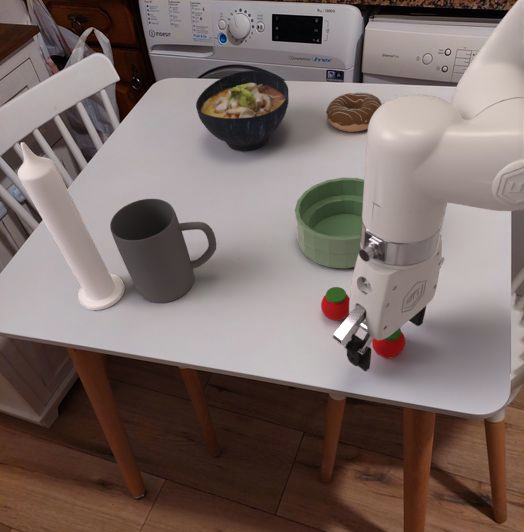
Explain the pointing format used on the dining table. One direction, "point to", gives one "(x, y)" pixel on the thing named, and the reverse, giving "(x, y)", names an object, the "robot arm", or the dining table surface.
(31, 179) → the candle
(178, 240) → the mug
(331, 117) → the donut
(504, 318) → the dining table surface
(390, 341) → the red ball green cap
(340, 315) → the strawberry
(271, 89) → the bowl
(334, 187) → the fruit bowl
